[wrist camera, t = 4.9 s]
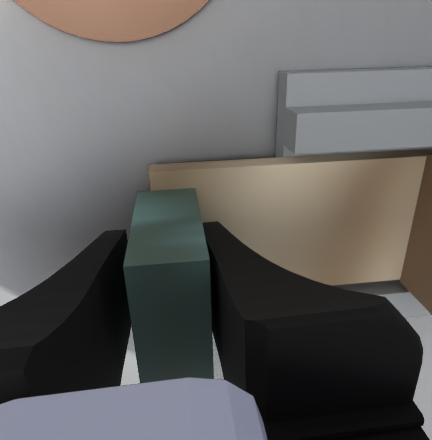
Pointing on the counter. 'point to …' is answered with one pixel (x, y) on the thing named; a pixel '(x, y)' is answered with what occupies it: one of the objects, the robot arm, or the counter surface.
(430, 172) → the walnut block
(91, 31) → the coaster
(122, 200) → the counter surface
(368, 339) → the robot arm
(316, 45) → the counter surface
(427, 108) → the lane board
